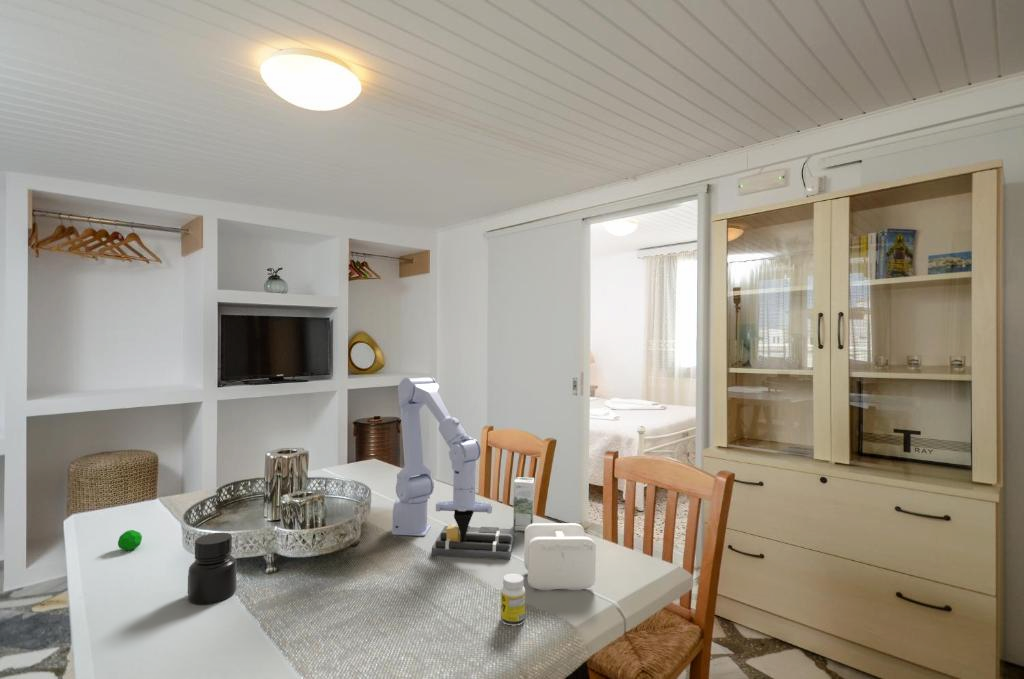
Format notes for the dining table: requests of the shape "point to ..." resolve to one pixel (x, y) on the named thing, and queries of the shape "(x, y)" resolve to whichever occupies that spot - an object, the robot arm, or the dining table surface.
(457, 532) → the block
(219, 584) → the ink bottle
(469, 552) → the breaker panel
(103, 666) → the dining table surface
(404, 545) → the dining table surface
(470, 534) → the cable bundles
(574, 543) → the cable organizer
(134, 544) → the polyhedron
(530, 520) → the syrup box
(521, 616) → the supplement bottle
